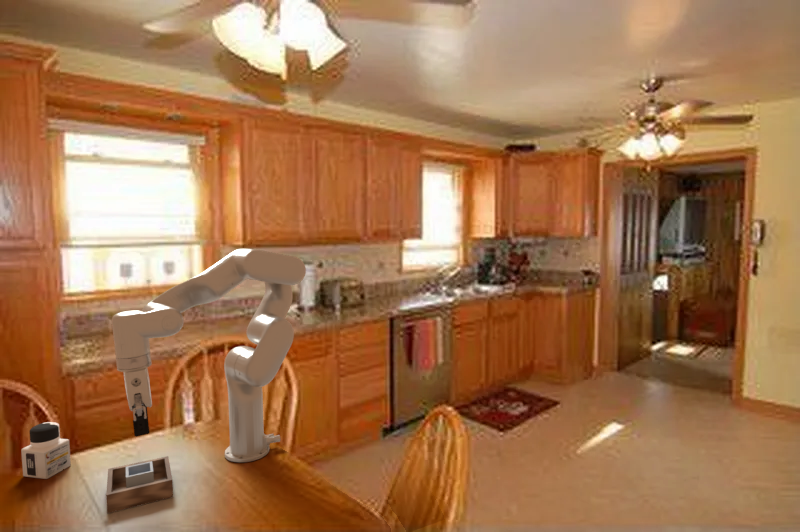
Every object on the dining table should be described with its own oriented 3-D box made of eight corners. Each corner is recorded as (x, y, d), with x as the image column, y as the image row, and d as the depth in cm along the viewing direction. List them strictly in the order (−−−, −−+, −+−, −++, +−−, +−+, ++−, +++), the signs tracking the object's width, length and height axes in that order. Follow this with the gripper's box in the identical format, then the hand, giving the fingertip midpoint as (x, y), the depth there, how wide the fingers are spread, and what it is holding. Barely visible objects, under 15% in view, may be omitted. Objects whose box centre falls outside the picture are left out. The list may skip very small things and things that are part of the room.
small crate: (153, 479, 128) (152, 461, 128) (154, 490, 123) (153, 471, 122) (126, 485, 125) (125, 466, 125) (126, 497, 120) (125, 477, 119)
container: (46, 479, 130) (43, 432, 129) (22, 476, 131) (18, 429, 130) (71, 465, 137) (68, 420, 136) (48, 462, 139) (45, 418, 138)
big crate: (169, 472, 133) (168, 456, 133) (173, 497, 121) (172, 479, 121) (109, 485, 127) (108, 468, 126) (107, 513, 115) (106, 495, 114)
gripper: (152, 367, 115) (160, 436, 118) (149, 350, 130) (156, 411, 133) (116, 374, 112) (124, 445, 114) (117, 355, 127) (124, 418, 129)
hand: (141, 427), depth 123 cm, fingers open, 9 cm apart
